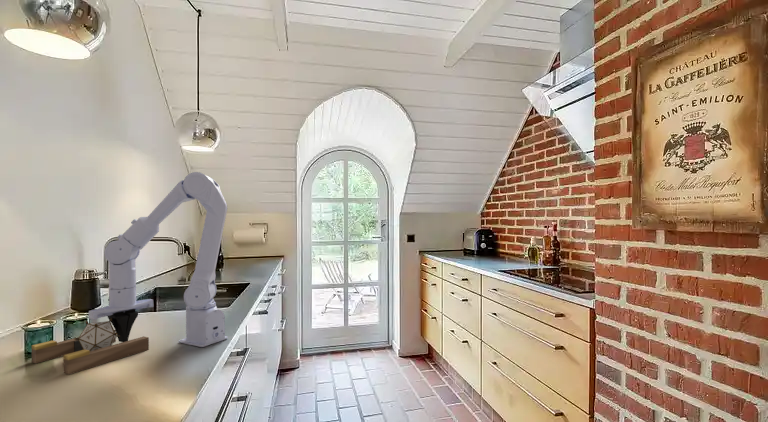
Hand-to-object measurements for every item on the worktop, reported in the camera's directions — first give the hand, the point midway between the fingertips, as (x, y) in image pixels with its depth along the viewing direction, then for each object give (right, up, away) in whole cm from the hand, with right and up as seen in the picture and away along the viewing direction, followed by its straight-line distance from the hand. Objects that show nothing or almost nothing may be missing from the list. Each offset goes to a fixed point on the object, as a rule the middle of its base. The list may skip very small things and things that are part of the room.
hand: (123, 341), depth 101 cm
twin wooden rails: (-3, -1, -6) cm, 7 cm away
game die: (-3, -2, -5) cm, 6 cm away
